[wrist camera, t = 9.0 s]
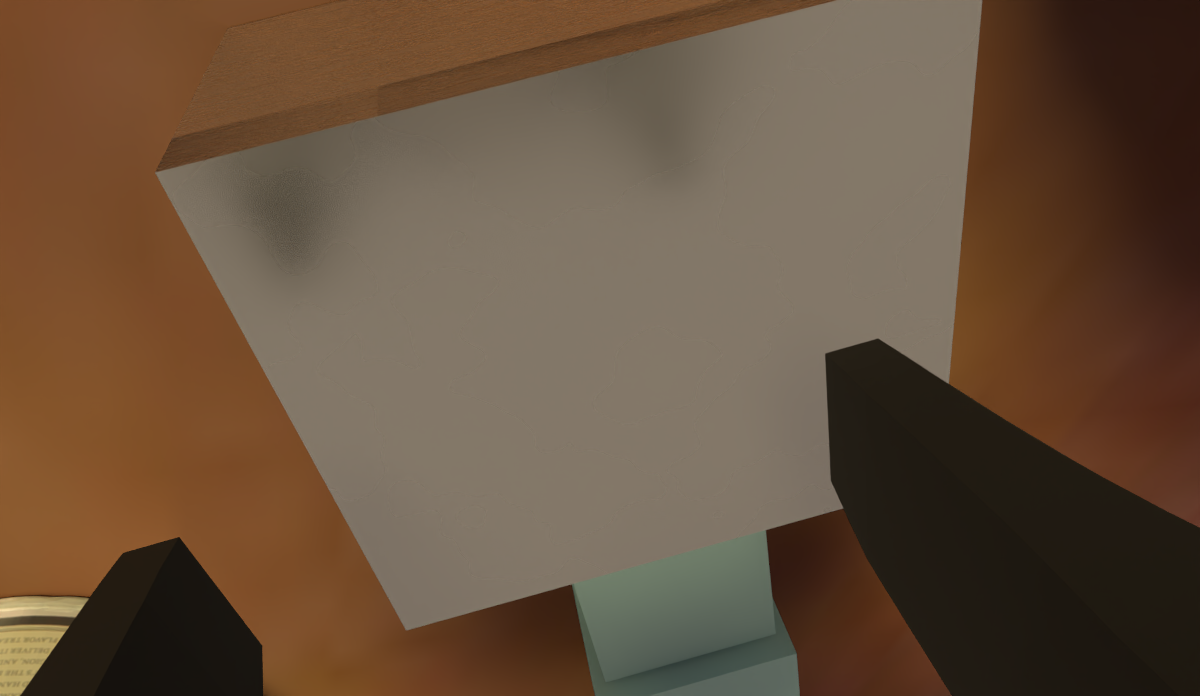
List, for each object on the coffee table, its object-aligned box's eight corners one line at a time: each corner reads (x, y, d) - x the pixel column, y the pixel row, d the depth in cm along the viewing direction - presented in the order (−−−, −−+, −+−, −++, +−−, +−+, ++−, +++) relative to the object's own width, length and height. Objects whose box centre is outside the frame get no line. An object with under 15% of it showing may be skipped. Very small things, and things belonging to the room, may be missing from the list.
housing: (806, -115, 16) (985, -38, 11) (819, 311, 22) (940, 480, 18) (227, 28, 16) (155, 172, 11) (402, 424, 22) (406, 630, 17)
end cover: (719, 390, 23) (787, 531, 19) (748, 620, 29) (804, 762, 26) (528, 441, 23) (557, 595, 19) (600, 662, 29) (633, 812, 25)
